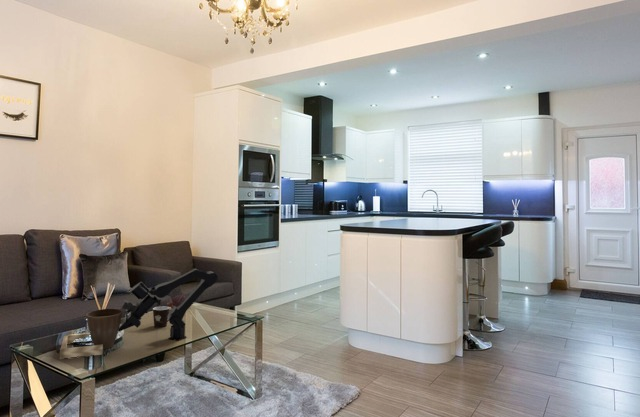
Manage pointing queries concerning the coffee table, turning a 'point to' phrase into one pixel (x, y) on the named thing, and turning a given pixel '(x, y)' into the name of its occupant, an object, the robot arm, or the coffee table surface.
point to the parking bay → (78, 351)
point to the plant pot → (104, 326)
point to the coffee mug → (160, 316)
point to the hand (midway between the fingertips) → (118, 330)
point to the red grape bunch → (176, 301)
